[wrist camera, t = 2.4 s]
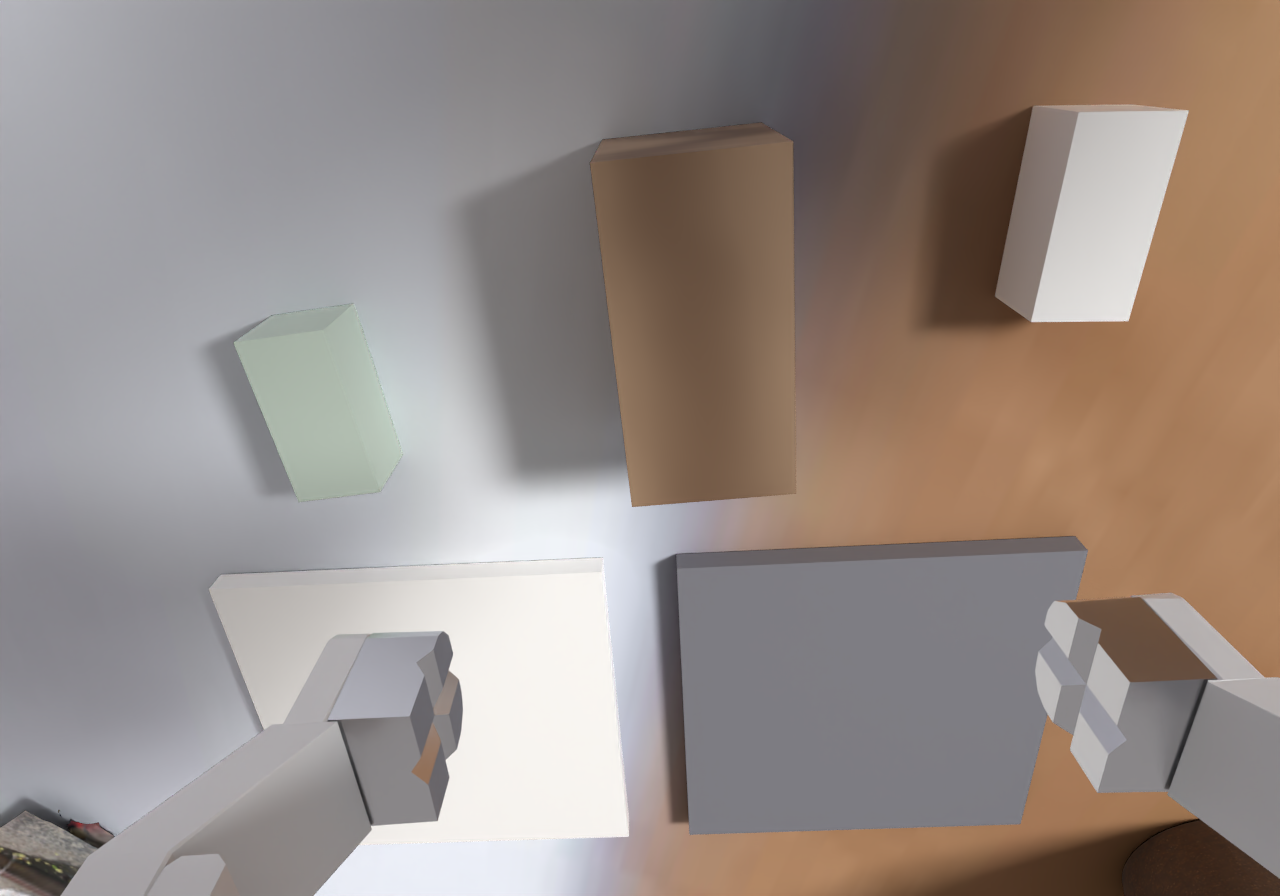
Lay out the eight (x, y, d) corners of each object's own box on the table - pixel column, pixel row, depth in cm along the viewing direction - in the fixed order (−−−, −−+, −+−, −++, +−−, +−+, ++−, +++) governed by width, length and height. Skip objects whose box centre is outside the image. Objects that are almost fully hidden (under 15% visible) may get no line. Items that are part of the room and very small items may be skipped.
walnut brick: (760, 121, 24) (792, 141, 19) (768, 411, 29) (796, 493, 23) (602, 139, 24) (589, 163, 19) (634, 423, 29) (632, 507, 24)
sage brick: (274, 313, 27) (233, 342, 24) (355, 301, 27) (323, 330, 24) (329, 461, 30) (298, 502, 27) (404, 452, 30) (380, 492, 27)
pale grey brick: (1030, 105, 24) (1078, 112, 21) (1127, 104, 24) (1188, 110, 21) (992, 295, 27) (1031, 322, 24) (1080, 293, 27) (1128, 321, 24)
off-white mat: (602, 557, 31) (601, 571, 31) (629, 818, 39) (628, 836, 38) (220, 574, 32) (208, 589, 31) (317, 828, 39) (309, 846, 38)
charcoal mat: (1075, 536, 31) (1087, 550, 30) (1011, 806, 38) (1020, 824, 37) (676, 554, 31) (676, 568, 30) (688, 816, 39) (689, 834, 38)
